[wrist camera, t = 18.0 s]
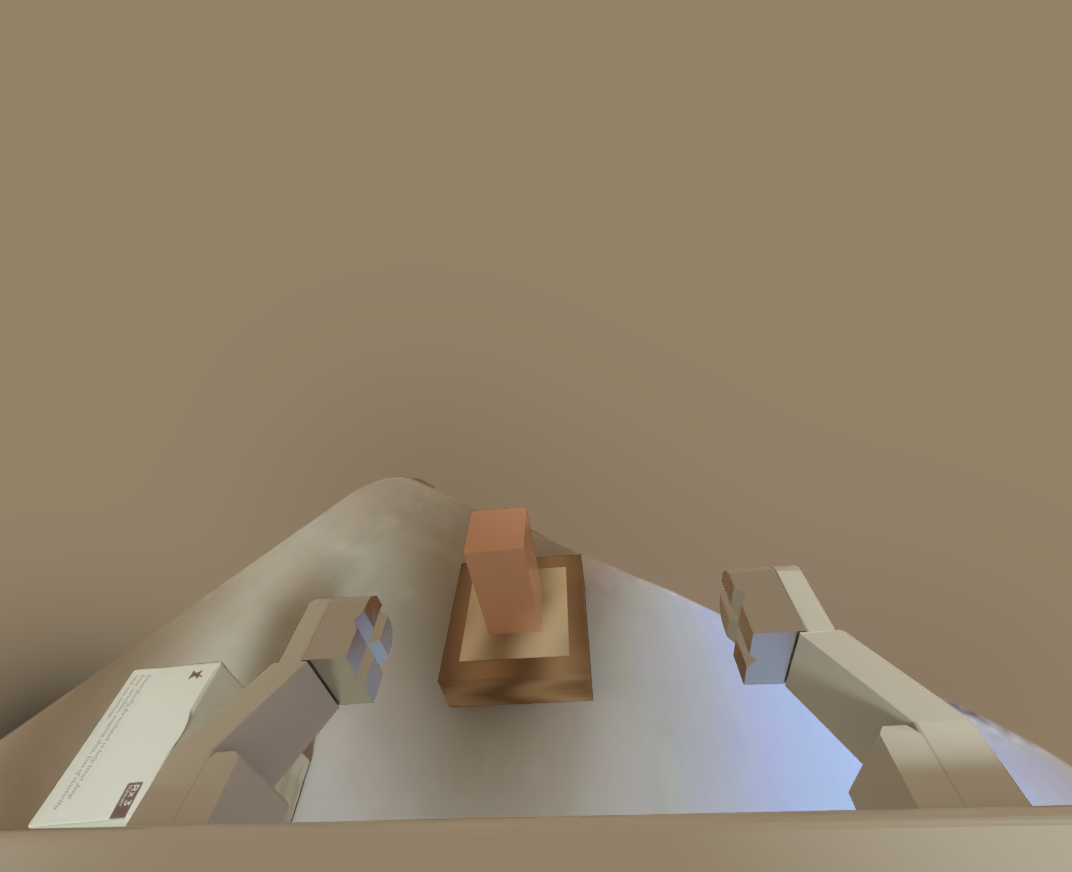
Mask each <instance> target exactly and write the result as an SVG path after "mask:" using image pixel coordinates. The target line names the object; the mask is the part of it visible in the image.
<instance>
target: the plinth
mask: <svg viewBox="0 0 1072 872" xmlns="http://www.w3.org/2000/svg"><path fill="white" fill-rule="evenodd" d="M536 559H537V564H538V569H539V574H540V579H541V584H542V632H528V633H512V634H496V635H489V633H488V630H487V627H486V624H485V620H484V617H483V614H482V611H481V608H480V605H479V602H478V598H477V595H476V592H475V589H474V586H473V583H472V580H471V576H470V573H469V570H468V567H467V564H466V563H462V564H461V569H460V574H459V579H458V584H457V589H456V594H455V599H454V604H453V609H452V614H451V619H450V624H449V629H448V634H447V639H446V644H445V649H444V653H443V658H442V663H441V668H440V673H439V678H438V682H439V684H440V686H441V689H442V691H443V693H444V695H445V697H446V700H447V702H448V704H449V706H450V707H460V706H482V705H503V704H524V703H545V702H566V701H587V700H593V692H592V679H591V666H590V653H589V639H588V626H587V613H586V600H585V586H584V576H583V568H582V560H581V554H579V555H566V556H553V557H540V558H536Z"/></svg>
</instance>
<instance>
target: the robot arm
mask: <svg viewBox="0 0 1072 872" xmlns="http://www.w3.org/2000/svg"><path fill="white" fill-rule="evenodd" d="M722 582H723V585H724V588H725V590H724V591H723V592H722V593H721V594H720V611H721V618H722V622H723V626H724V629H725V632H726V635H727V637H728V638H729V639H731V640H732V641H733V642H734V643H735V648H734V658H735V661H736V664H737V667H738V669H739V672H740V675H741V678H742V681H743V683H744V685H752V684H786V685H785V686H786V687H787V688H788V689H789V690H790V691H791V692H792V693H793V694H794V695H795V696H796V697H797V698H798V699H799V700H800V701H801V702H802V703H803V704H804V705H805V706H806V707H807V708H808V709H809V710H810V711H811V712H812V713H813V714H814V715H815V716H816V717H817V718H818V719H819V720H820V721H821V722H822V723H823V724H824V725H825V726H826V727H827V728H828V729H829V730H830V732H831V733H832V734H833V735H834V736H835V737H836V738H837V739H838V740H839V741H840V742H841V743H842V744H843V745H844V746H845V747H846V748H847V749H848V750H849V751H850V752H851V753H852V754H853V755H854V756H855V757H856V758H857V759H858V760H859V761H860V762H861V763H862V764H863V765H862V767H861V769H860V771H859V773H858V775H857V777H856V779H855V780H854V782H853V784H852V786H851V788H850V790H849V794H850V797H851V799H852V801H853V804H854V806H855V808H856V810H828V811H783V812H738V813H693V814H648V815H603V816H558V817H513V818H468V819H424V820H380V821H336V822H292V823H284V821H285V818H286V815H287V813H288V810H289V804H288V801H287V800H286V799H285V798H284V797H283V796H282V795H281V794H280V793H279V792H278V791H277V790H276V789H275V788H274V787H275V786H276V784H277V783H278V782H279V781H280V779H281V778H282V777H283V776H284V774H285V773H286V772H287V771H288V770H289V768H290V767H291V766H292V765H293V763H294V762H295V761H296V760H297V759H298V757H299V756H300V755H301V754H302V752H303V751H304V750H305V749H306V747H307V746H308V745H309V744H310V743H311V741H312V740H313V739H314V738H315V736H316V735H317V734H318V733H319V732H320V730H321V729H322V728H323V727H324V725H325V724H326V723H327V722H328V720H329V719H330V718H331V717H332V716H333V714H334V713H335V712H336V711H337V709H338V708H339V706H338V705H348V704H361V703H374V700H375V697H376V694H377V690H378V687H379V684H380V681H381V678H382V672H381V669H380V667H379V665H380V664H381V663H382V662H383V661H384V660H385V659H386V658H387V657H388V655H389V651H390V648H391V644H392V627H391V622H390V620H389V618H388V616H386V615H385V614H383V613H381V612H380V609H381V606H382V604H381V602H380V601H379V599H378V597H377V596H364V597H341V598H323V599H314V600H313V601H312V602H311V603H310V604H309V605H308V606H307V608H306V610H305V612H304V614H303V616H302V618H301V620H300V622H299V624H298V626H297V628H296V630H295V632H294V634H293V636H292V638H291V640H290V642H289V643H288V645H287V647H286V649H285V651H284V653H283V655H282V657H281V659H280V661H279V663H272V664H271V665H270V666H269V667H268V668H267V669H265V670H264V671H263V672H262V673H261V674H260V675H258V676H257V677H256V678H255V679H254V680H253V681H252V682H250V683H249V684H248V685H247V686H246V687H245V688H244V689H242V690H241V691H240V692H239V693H238V694H237V695H235V696H234V697H233V698H232V699H231V700H230V701H229V702H227V703H226V704H225V705H224V706H223V707H222V708H220V709H219V710H218V711H217V712H216V713H215V714H214V715H212V716H211V717H210V718H209V719H208V720H207V721H206V722H204V723H203V724H202V725H201V726H200V727H199V728H197V729H196V730H195V731H194V732H193V733H192V734H191V735H189V736H188V737H187V738H186V739H185V740H184V741H182V742H181V743H180V744H179V745H178V746H177V747H176V748H174V749H173V750H172V751H171V752H170V754H169V756H168V757H167V759H166V761H165V762H164V764H163V765H162V767H161V769H160V770H159V772H158V774H157V775H156V777H155V779H154V780H153V782H152V783H151V785H150V787H149V788H148V790H147V792H146V793H145V795H144V797H143V798H142V800H141V801H140V803H139V805H138V806H137V808H136V810H135V811H134V813H133V815H132V816H131V818H130V819H129V821H128V823H127V824H126V826H117V827H74V828H32V829H0V872H1072V805H1053V806H1032V805H1031V804H1030V802H1029V801H1028V799H1027V798H1026V797H1025V795H1024V794H1023V792H1022V791H1021V790H1020V788H1019V787H1018V785H1017V784H1016V783H1015V781H1014V780H1013V778H1012V777H1011V776H1010V774H1009V773H1008V771H1007V770H1006V768H1005V767H1004V766H1003V764H1002V763H1001V761H1000V760H999V759H998V757H997V756H996V754H995V753H994V752H993V750H992V749H991V747H990V746H989V744H988V743H987V742H986V740H985V739H984V737H983V736H982V735H981V733H980V732H979V730H978V729H977V728H976V726H975V725H974V723H973V722H972V721H971V720H970V719H968V718H967V717H965V716H964V715H963V714H961V713H960V712H958V711H957V710H956V709H954V708H953V707H951V706H950V705H948V704H947V703H946V702H944V701H943V700H941V699H940V698H939V697H937V696H936V695H934V694H933V693H931V692H930V691H929V690H927V689H926V688H924V687H923V686H921V685H920V684H919V683H917V682H916V681H914V680H913V679H911V678H910V677H909V676H907V675H906V674H904V673H903V672H902V671H900V670H899V669H897V668H896V667H895V666H893V665H891V664H890V663H889V662H887V661H886V660H884V659H883V658H882V657H880V656H879V655H877V654H876V653H874V652H873V651H872V650H870V649H868V647H866V646H865V645H863V644H862V643H860V642H859V641H858V640H856V639H855V638H853V637H852V636H851V635H849V634H848V633H846V632H845V631H843V630H835V629H834V627H833V625H832V624H831V622H830V620H829V618H828V617H827V615H826V613H825V612H824V610H823V608H822V606H821V605H820V603H819V601H818V600H817V598H816V596H815V594H814V592H813V591H812V589H811V587H810V585H809V584H808V582H807V580H806V579H805V577H804V575H803V573H802V572H801V570H800V569H799V568H798V567H797V566H796V565H788V566H775V567H769V566H768V567H756V568H745V569H732V570H725V571H724V573H723V577H722Z"/></svg>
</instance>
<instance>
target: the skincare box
mask: <svg viewBox="0 0 1072 872" xmlns="http://www.w3.org/2000/svg"><path fill="white" fill-rule="evenodd" d="M242 689H244V687H243V686H242V685H241V684H240V682H239V681H238V680H237V679H236V678H235V677H234V676H233V675H232V673H231V672H230V671H229V670H228V669H227V668H226V666H225V665H224V664H223V662H222V661H216V662H210V663H199V664H190V665H182V666H174V667H165V668H151V669H140V670H135V671H133V672H132V674H131V675H130V677H129V678H128V680H127V681H126V683H125V684H124V686H123V687H122V689H121V690H120V692H119V693H118V695H117V696H116V698H115V699H114V701H113V702H112V703H111V705H110V706H109V708H108V709H107V711H106V712H105V714H104V715H103V717H102V718H101V720H100V721H99V723H98V724H97V726H96V727H95V729H94V730H93V732H92V733H91V734H90V736H89V737H88V739H87V740H86V742H85V743H84V745H83V746H82V748H81V749H80V751H79V752H78V753H77V755H76V756H75V758H74V759H73V761H72V762H71V764H70V765H69V767H68V768H67V770H66V771H65V773H64V774H63V775H62V777H61V778H60V780H59V781H58V783H57V784H56V786H55V787H54V789H53V790H52V791H51V793H50V794H49V796H48V797H47V799H46V800H45V802H44V803H43V804H42V806H41V807H40V809H39V810H38V812H37V813H36V814H35V816H34V817H33V819H32V820H31V822H30V823H29V825H28V828H30V829H32V828H74V827H117V826H126V824H127V823H128V821H129V819H130V818H131V816H132V815H133V813H134V811H135V810H136V808H137V806H138V805H139V803H140V801H141V800H142V798H143V797H144V795H145V793H146V792H147V790H148V788H149V787H150V785H151V783H152V782H153V780H154V779H155V777H156V775H157V774H158V772H159V770H160V769H161V767H162V765H163V764H164V762H165V761H166V759H167V757H168V756H169V754H170V752H171V751H172V750H173V749H174V748H176V747H177V746H178V745H179V744H180V743H181V742H182V741H184V740H185V739H186V738H187V737H188V736H189V735H191V734H192V733H193V732H194V731H195V730H196V729H197V728H199V727H200V726H201V725H202V724H203V723H204V722H206V721H207V720H208V719H209V718H210V717H211V716H212V715H214V714H215V713H216V712H217V711H218V710H219V709H220V708H222V707H223V706H224V705H225V704H226V703H227V702H229V701H230V700H231V699H232V698H233V697H234V696H235V695H237V694H238V693H239V692H240V691H241V690H242ZM309 763H310V760H309V759H308V758H307V757H306V756H305V755H304V753H303V752H302V754H301V755H300V756H299V757H298V759H297V760H296V761H295V762H294V763H293V765H292V766H291V767H290V768H289V770H288V771H287V772H286V773H285V774H284V776H283V777H282V778H281V779H280V781H279V782H278V783H277V784H276V786H275V787H274V788H275V789H276V790H277V791H278V792H279V793H280V794H281V795H282V796H283V797H284V798H285V799H286V800H287V801H288V804H289V810H288V813H287V815H286V818H285V821H284V823H290V822H291V819H292V816H293V813H294V810H295V807H296V804H297V801H298V798H299V794H300V791H301V788H302V784H303V781H304V778H305V775H306V772H307V769H308V766H309Z"/></svg>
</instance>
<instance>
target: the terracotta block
mask: <svg viewBox="0 0 1072 872" xmlns="http://www.w3.org/2000/svg"><path fill="white" fill-rule="evenodd" d="M463 554H464V557H465V561H466V564H467V567H468V570H469V573H470V576H471V580H472V583H473V586H474V589H475V592H476V595H477V598H478V602H479V605H480V608H481V611H482V614H483V617H484V620H485V624H486V627H487V630H488V633H489V635H496V634H512V633H528V632H542V584H541V579H540V574H539V569H538V564H537V559H536V554H535V549H534V544H533V539H532V534H531V529H530V524H529V518H528V513H527V508H526V507H518V508H506V509H494V510H483V511H472V512H471V517H470V522H469V527H468V532H467V537H466V542H465V547H464V552H463Z"/></svg>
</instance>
